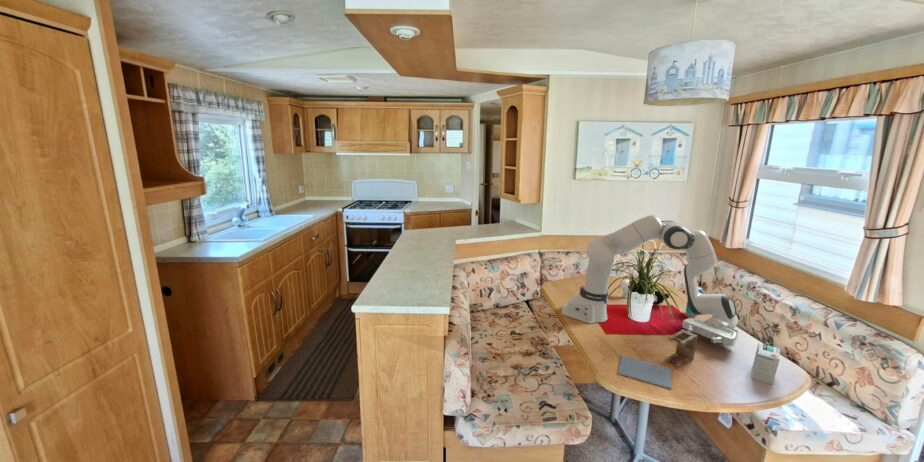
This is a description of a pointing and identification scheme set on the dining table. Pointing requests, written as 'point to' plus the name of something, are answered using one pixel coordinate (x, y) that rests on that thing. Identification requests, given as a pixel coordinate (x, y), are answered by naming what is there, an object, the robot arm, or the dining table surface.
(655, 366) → the mat
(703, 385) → the dining table surface
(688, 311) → the beverage can
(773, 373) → the light bulb box
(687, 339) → the stool
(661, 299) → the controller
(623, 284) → the lightbulb
